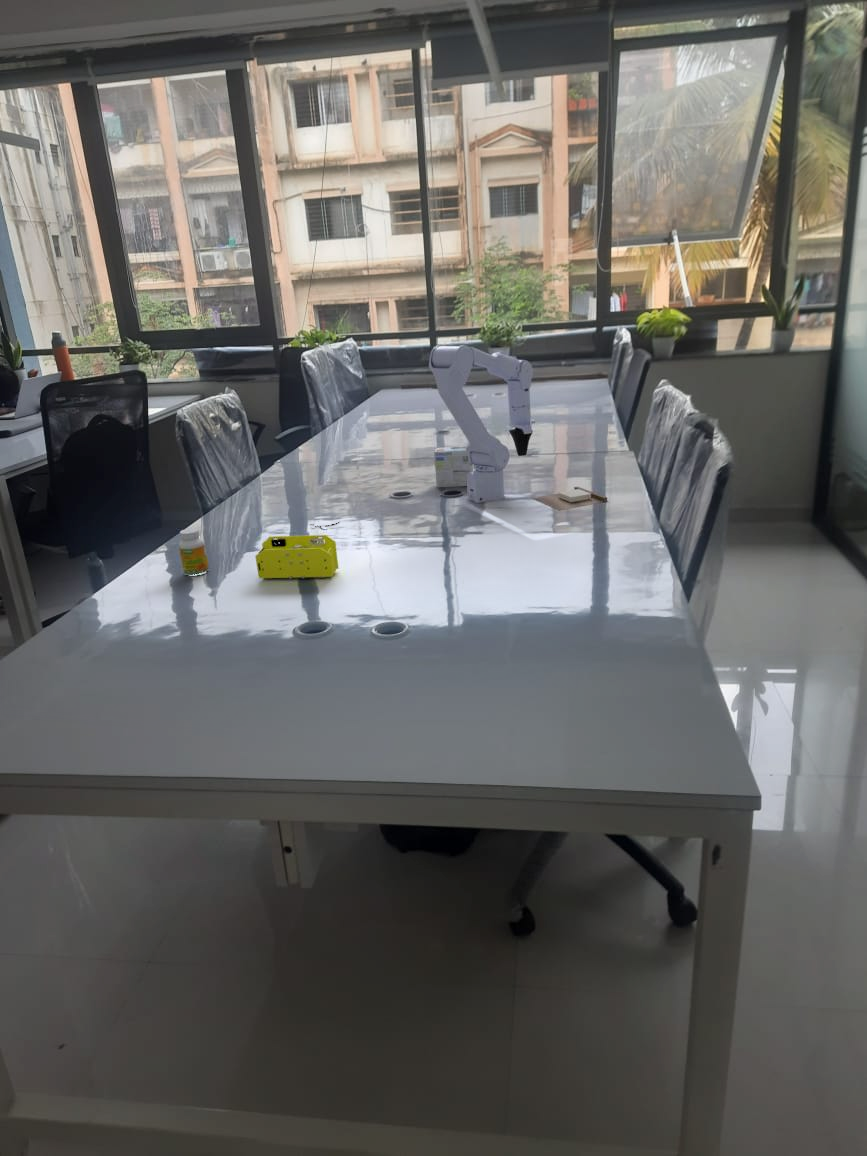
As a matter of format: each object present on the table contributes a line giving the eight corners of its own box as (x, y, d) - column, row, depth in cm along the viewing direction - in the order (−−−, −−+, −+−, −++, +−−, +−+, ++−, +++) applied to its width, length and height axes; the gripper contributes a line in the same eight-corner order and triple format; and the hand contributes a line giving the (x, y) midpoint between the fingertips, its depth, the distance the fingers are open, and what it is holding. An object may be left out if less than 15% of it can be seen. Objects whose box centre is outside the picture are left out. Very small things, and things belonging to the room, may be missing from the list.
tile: (570, 497, 200) (591, 493, 202) (558, 492, 206) (578, 488, 208) (570, 503, 201) (591, 499, 203) (558, 498, 206) (578, 494, 208)
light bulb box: (473, 480, 236) (471, 445, 232) (472, 486, 230) (470, 449, 226) (438, 482, 237) (435, 446, 234) (436, 488, 231) (433, 451, 227)
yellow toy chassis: (339, 571, 169) (335, 534, 166) (332, 580, 163) (328, 542, 161) (267, 572, 171) (262, 536, 168) (258, 582, 166) (252, 544, 163)
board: (559, 514, 196) (559, 506, 195) (531, 502, 208) (531, 494, 207) (607, 505, 201) (607, 497, 200) (577, 494, 213) (577, 486, 212)
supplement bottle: (184, 578, 171) (175, 535, 168) (184, 571, 176) (176, 529, 172) (209, 574, 172) (201, 532, 169) (209, 567, 177) (201, 525, 174)
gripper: (541, 407, 206) (543, 458, 211) (526, 400, 220) (528, 448, 225) (515, 411, 206) (518, 462, 211) (501, 403, 219) (504, 451, 224)
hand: (522, 455), depth 218 cm, fingers closed
